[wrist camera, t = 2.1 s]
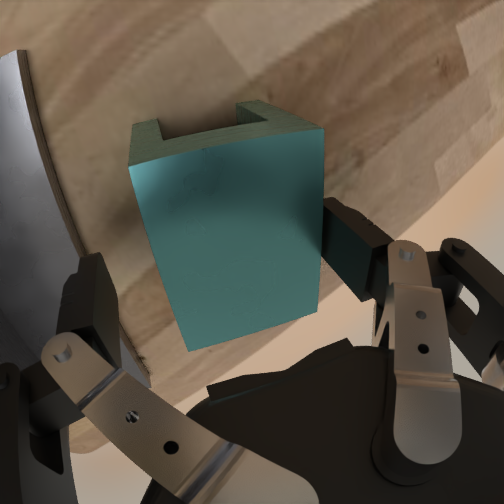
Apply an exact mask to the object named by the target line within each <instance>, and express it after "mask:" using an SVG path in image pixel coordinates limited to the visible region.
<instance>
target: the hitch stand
mask: <svg viewBox="0 0 504 504" xmlns="http://www.w3.org/2000/svg"><path fill="white" fill-rule="evenodd" d="M83 256H87V255H86V252H85V250H84V248H83V245H82V243H81V241H80V238H79V236H78V234H77V231H76V229H75V226H74V224H73V221H72V218H71V216H70V213H69V211H68V208H67V205H66V203H65V200H64V197H63V194H62V191H61V189H60V186H59V183H58V180H57V177H56V174H55V171H54V168H53V165H52V161H51V158H50V155H49V152H48V148H47V145H46V141H45V138H44V134H43V130H42V127H41V123H40V119H39V115H38V111H37V107H36V102H35V98H34V93H33V89H32V84H31V79H30V74H29V68H28V63H27V57H26V50H15V51H13V52H10V53H8V54H6V55H4V56H2V57H0V364H2V363H6V362H11V363H14V364H15V365H17V366H18V368H19V369H20V370H21V371H22V370H23V369H25V368H27V367H29V366H31V365H33V364H35V363H36V362H38V361H40V360H41V353H42V350H43V348H44V346H45V344H46V343H47V342H48V341H49V340H50V339H51V338H52V337H54V336H56V328H57V321H58V314H59V308H60V306H61V305H60V302H61V298H62V291H63V285H64V284H65V282H66V281H67V279H68V277H69V276H70V275H71V274H74V273H77V271H78V265H79V259H80V257H83ZM119 333H120V348H121V361H122V369H124V370H125V371H126V372H128V373H129V374H130V375H131V376H133V377H134V378H135V379H136V380H138V381H139V382H140V383H142V384H143V385H144V386H145V387H147V388H151V382H150V376H149V373H148V372H147V370H146V368H145V367H144V365H143V363H142V362H141V360H140V358H139V357H138V355H137V353H136V351H135V350H134V348H133V346H132V345H131V343H130V341H129V339H128V337H127V336H126V334H125V332H124V330H123V328H122V326H121V325H120V323H119ZM67 434H68V443H69V425H68V426H67ZM69 451H70V448H69Z"/></svg>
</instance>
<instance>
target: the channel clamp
mask: <svg viewBox="0 0 504 504" xmlns="http://www.w3.org/2000/svg"><path fill="white" fill-rule="evenodd" d="M236 112H237V121H238V125H237V126H231V127H226V128H220V129H215V130H210V131H205V132H200V133H195V134H190V135H186V136H181V137H177V138H172V139H168V140H164V141H163V139H162V136H161V132H160V128H159V125H158V121H157V119H153V120H149V121H145V122H141V123H137V124H133V126H132V134H131V143H130V152H129V163H128V168H129V172H130V176H131V180H132V184H133V187H134V191H135V195H136V198H137V202H138V205H139V209H140V212H141V216H142V219H143V223H144V226H145V229H146V232H147V236H148V239H149V242H150V245H151V249H152V252H153V255H154V258H155V261H156V264H157V267H158V270H159V273H160V276H161V279H162V282H163V285H164V288H165V290H166V293H167V296H168V299H169V302H170V305H171V307H172V310H173V313H174V315H175V318H176V321H177V323H178V326H179V329H180V331H181V334H182V337H183V339H184V342H185V344H186V347H187V349H188V352H190V351H194V350H197V349H201V348H204V347H208V346H211V345H215V344H218V343H222V342H225V341H229V340H232V339H235V338H239V337H242V336H245V335H248V334H252V333H255V332H258V331H261V330H264V329H268V328H271V327H274V326H277V325H280V324H283V323H286V322H289V321H292V320H295V319H298V318H301V317H304V316H307V315H309V314H312V313H315V312H317V307H318V294H319V280H320V265H321V247H322V225H323V196H324V128H322V127H320V126H318V125H315V124H313V123H311V122H309V121H307V120H305V119H302V118H300V117H298V116H296V115H293V114H291V113H289V112H286V111H284V110H282V109H279V108H277V107H274V106H272V105H270V104H267V103H265V102H262V101H260V100H255V101H248V102H241V103H236Z"/></svg>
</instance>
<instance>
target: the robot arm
mask: <svg viewBox="0 0 504 504" xmlns="http://www.w3.org/2000/svg"><path fill="white" fill-rule="evenodd" d="M321 256H322V258H323V259H324V260H325V261H326V262H327V263H328V264H329V265H330V267H331V268H332V269H333V270H334V271H335V272H336V273H337V275H338V276H339V277H340V278H341V279H342V280H343V281H344V283H345V284H346V285H347V286H348V287H349V288H350V289H351V290H352V292H353V293H354V294H355V295H356V296H357V298H358V299H359V300H360V301H361V302H364V301H367V300H369V299H372V298H374V299H375V300H376V301H375V305H374V315H373V332H372V344H371V346H354V347H353V345H352V344H351V343H350V341H349V340H348V338H345V339H343V340H340V341H337V342H335V343H332V344H330V345H327V346H325V347H322V348H319V349H317V350H315V351H313V352H312V353H311V354H309V355H308V356H306V357H305V358H303V359H302V360H300V361H299V362H297V363H296V364H294V365H293V366H291V367H290V368H288V369H286V370H284V371H278V372H269V373H260V374H250V375H242V376H239V377H236V378H232V379H229V380H226V381H222V382H219V383H215V384H212V385H208V386H206V387H207V390H208V394H209V397H207V398H206V399H204V400H203V401H201V402H199V403H198V404H197V405H195V406H194V407H193V408H192V409H191V410H190V411H189V412H188V413H187V414H186V415H184V414H183V413H181V412H180V411H178V410H177V409H176V408H174V407H173V406H171V405H170V404H169V403H167V402H166V401H164V400H163V399H162V398H160V397H159V396H157V395H156V394H155V393H153V392H152V391H151V390H149V389H148V388H147V387H145V386H144V385H143V384H142V383H140V382H139V381H138V380H136V379H135V378H134V377H133V376H131V375H130V374H129V373H128V372H126V371H125V370H124V369H122V361H121V348H120V333H119V313H118V298H117V293H116V290H115V287H114V284H113V282H112V279H111V277H110V274H109V272H108V269H107V267H106V264H105V262H104V259H103V257H102V255H101V253H100V252H97V253H94V254H90V255H87V256H83V257H80V259H79V265H78V271H77V273H74V274H71V275H70V276H69V277H68V279H67V281H66V282H65V284H64V285H63V291H62V298H61V302H60V305H61V306H60V308H59V314H58V321H57V328H56V336H54V337H52V338H51V339H50V340H49V341H48V342H47V343H46V344H45V346H44V348H43V350H42V353H41V360H40V361H38V362H36V363H35V364H33V365H31V366H29V367H27V368H25V369H23V370H22V371H21V370H20V369H19V368H18V366H17V365H15V364H14V363H11V362H6V363H2V364H0V504H78V500H77V495H76V490H75V485H74V479H73V473H72V466H71V460H70V451H69V443H68V434H67V426H68V425H70V424H72V423H74V422H76V421H78V420H79V419H81V418H83V417H85V416H86V417H87V418H88V419H89V420H90V421H91V422H92V423H93V424H94V425H95V426H96V427H97V428H98V429H99V430H100V431H101V432H102V433H103V434H104V435H105V436H106V437H107V438H108V439H109V440H110V441H111V442H112V443H113V444H114V445H115V446H116V447H117V448H118V449H120V450H121V451H122V452H123V453H124V454H125V455H126V456H127V457H128V458H129V459H131V460H132V461H133V462H134V463H135V464H136V465H138V466H139V467H140V468H141V469H142V470H143V471H145V472H146V473H147V474H148V475H149V476H151V477H152V480H151V482H150V484H149V486H148V488H147V490H146V492H145V494H144V496H143V499H142V501H141V503H140V504H504V275H503V274H502V273H501V272H500V271H499V270H498V269H497V268H496V267H494V266H493V265H492V264H491V263H490V262H489V261H488V260H487V259H485V258H484V257H483V256H482V255H481V254H480V253H479V252H477V251H476V250H475V249H474V248H473V247H472V246H470V245H469V244H468V243H466V242H465V241H462V240H460V239H456V238H447V239H444V240H443V241H442V244H441V247H440V251H431V252H425V251H424V249H423V248H422V247H421V246H419V245H418V244H416V243H413V242H411V241H407V240H396V241H394V240H393V239H392V238H391V237H390V236H389V235H387V234H386V233H385V232H384V231H382V230H381V229H380V228H379V227H378V226H376V225H374V224H373V222H371V221H370V220H369V219H367V218H366V217H365V216H364V215H363V214H361V213H360V212H359V211H357V210H354V209H352V208H350V207H347V206H344V205H343V204H342V203H341V202H339V201H338V200H337V199H336V198H334V197H329V198H324V199H323V225H322V247H321ZM463 285H464V286H465V287H466V288H467V289H468V290H469V291H470V292H471V293H472V294H473V295H474V296H475V297H476V298H477V300H478V302H479V312H478V314H477V316H476V315H475V314H474V312H473V311H472V310H471V309H470V308H469V307H468V306H467V305H466V304H465V303H464V302H463V301H462V300H461V299H460V298H459V295H460V292H461V290H462V288H463ZM449 337H450V339H451V340H452V341H453V342H454V344H455V345H456V346H457V347H458V349H459V350H460V351H461V352H462V353H463V355H464V356H465V357H466V359H467V360H468V361H469V362H470V364H471V365H472V366H473V367H474V369H475V370H476V371H477V373H478V374H479V375H480V377H481V378H482V382H483V383H482V382H479V381H476V380H473V379H470V378H467V377H464V376H461V375H458V374H455V373H453V369H452V359H451V349H450V342H449Z"/></svg>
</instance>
